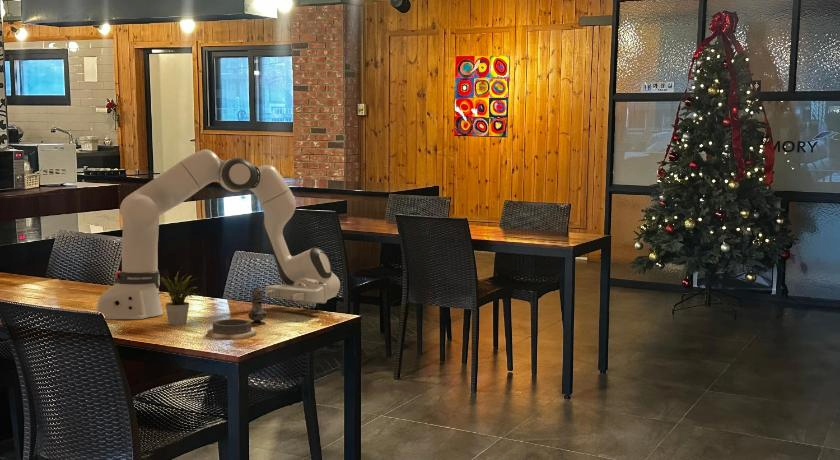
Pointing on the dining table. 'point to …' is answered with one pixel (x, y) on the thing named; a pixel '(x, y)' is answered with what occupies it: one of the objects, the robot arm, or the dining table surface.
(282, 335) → the dining table surface
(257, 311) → the dark chess piece
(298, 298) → the robot arm
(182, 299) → the house plant
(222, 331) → the collar holder
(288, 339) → the dining table surface
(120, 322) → the dining table surface
